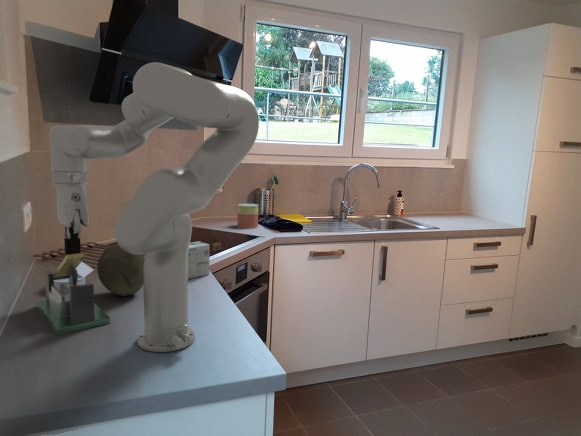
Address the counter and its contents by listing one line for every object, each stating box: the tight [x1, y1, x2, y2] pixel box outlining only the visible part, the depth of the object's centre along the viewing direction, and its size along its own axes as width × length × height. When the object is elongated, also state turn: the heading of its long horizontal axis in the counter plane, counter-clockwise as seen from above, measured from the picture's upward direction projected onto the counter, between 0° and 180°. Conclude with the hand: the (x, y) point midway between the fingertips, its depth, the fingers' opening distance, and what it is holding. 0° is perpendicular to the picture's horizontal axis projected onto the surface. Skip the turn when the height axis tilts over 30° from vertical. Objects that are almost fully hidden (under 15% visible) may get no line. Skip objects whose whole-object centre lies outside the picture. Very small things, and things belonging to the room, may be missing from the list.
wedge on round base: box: [54, 260, 94, 290], centre depth 136 cm, size 9×7×13 cm
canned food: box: [236, 203, 259, 230], centre depth 243 cm, size 11×11×12 cm
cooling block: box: [35, 269, 111, 336], centre depth 114 cm, size 22×12×10 cm, turn 40°
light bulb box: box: [188, 240, 210, 280], centre depth 151 cm, size 11×7×11 cm, turn 134°
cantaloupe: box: [96, 243, 145, 297], centre depth 130 cm, size 14×14×15 cm
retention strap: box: [53, 252, 86, 280], centre depth 114 cm, size 19×4×2 cm
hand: (72, 253), depth 109 cm, fingers closed
